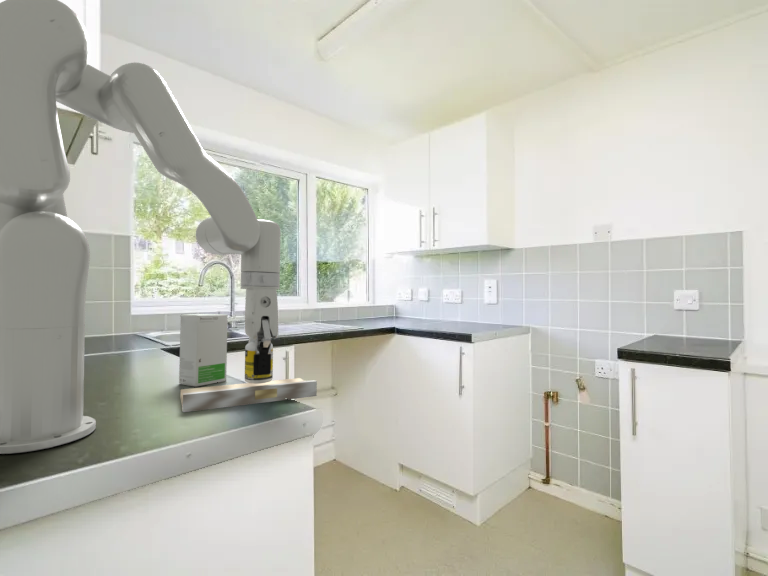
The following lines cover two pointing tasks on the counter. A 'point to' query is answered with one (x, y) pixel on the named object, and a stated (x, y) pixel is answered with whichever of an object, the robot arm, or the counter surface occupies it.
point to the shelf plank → (245, 394)
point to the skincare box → (203, 349)
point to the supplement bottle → (250, 360)
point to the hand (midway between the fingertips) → (258, 370)
